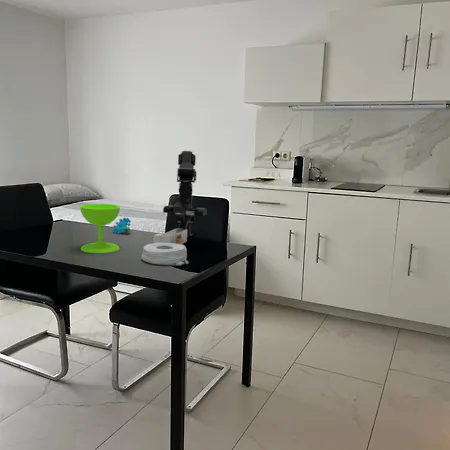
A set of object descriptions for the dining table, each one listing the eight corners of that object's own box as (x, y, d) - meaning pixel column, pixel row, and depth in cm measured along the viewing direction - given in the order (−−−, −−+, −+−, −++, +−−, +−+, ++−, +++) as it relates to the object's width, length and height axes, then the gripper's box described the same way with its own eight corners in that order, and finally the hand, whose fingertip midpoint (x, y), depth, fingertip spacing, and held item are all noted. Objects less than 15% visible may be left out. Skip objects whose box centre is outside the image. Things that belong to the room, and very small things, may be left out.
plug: (157, 242, 209) (158, 233, 208) (183, 245, 205) (183, 236, 204) (153, 243, 205) (153, 235, 205) (179, 247, 201) (179, 238, 200)
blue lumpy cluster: (108, 228, 226) (122, 214, 229) (115, 235, 230) (128, 221, 233) (120, 235, 218) (134, 220, 221) (126, 242, 222) (140, 227, 225)
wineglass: (93, 255, 180) (93, 210, 177) (73, 247, 190) (72, 205, 187) (127, 249, 191) (127, 207, 188) (106, 242, 202) (106, 203, 199)
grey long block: (177, 240, 214) (177, 228, 213) (186, 241, 213) (187, 229, 212) (159, 248, 195) (159, 235, 194) (169, 250, 194) (170, 236, 193)
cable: (190, 266, 171) (191, 250, 170) (144, 267, 166) (144, 251, 165) (182, 254, 188) (182, 240, 187) (139, 255, 183) (139, 241, 182)
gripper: (158, 194, 193) (157, 230, 196) (199, 198, 188) (197, 234, 191) (168, 192, 204) (168, 226, 207) (207, 195, 199) (206, 230, 201)
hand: (184, 229), depth 201 cm, fingers closed
